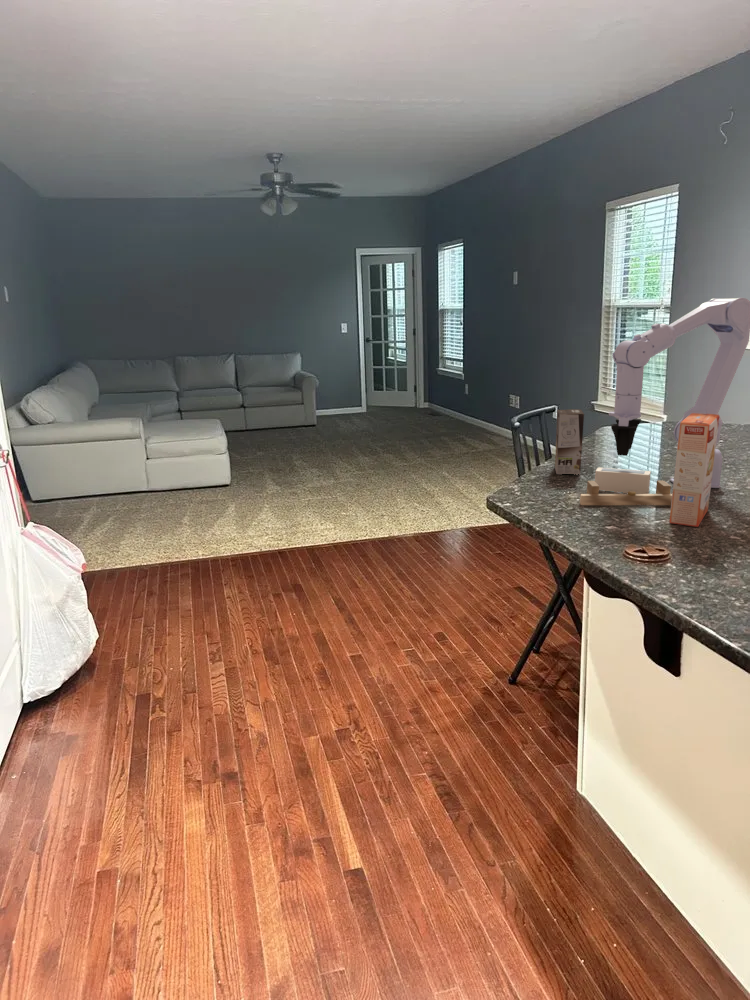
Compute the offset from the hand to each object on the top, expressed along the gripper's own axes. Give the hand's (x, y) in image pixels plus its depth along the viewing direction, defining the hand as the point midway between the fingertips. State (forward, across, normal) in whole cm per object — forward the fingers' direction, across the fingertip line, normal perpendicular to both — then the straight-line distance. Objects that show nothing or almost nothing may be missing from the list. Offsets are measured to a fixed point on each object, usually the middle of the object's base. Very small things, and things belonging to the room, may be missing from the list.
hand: (624, 452), depth 165 cm
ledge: (+9, +9, +2) cm, 13 cm away
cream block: (+10, 0, 0) cm, 10 cm away
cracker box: (+10, +18, +15) cm, 25 cm away
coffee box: (+10, -16, -16) cm, 24 cm away
